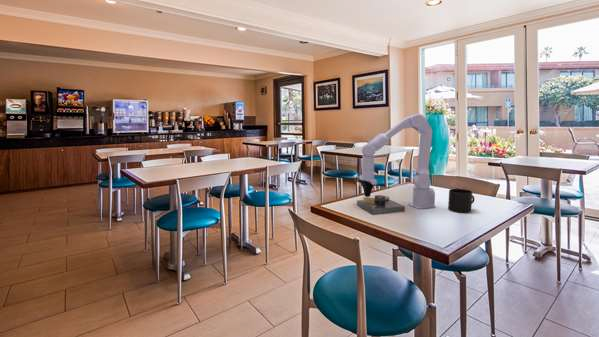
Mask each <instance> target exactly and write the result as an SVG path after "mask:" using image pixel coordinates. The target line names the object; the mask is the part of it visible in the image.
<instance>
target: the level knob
mask: <svg viewBox="0 0 599 337" xmlns="http://www.w3.org/2000/svg"><path fill="white" fill-rule="evenodd" d="M362 200H363V202H375V203H376V204H385V203H386V196H385V195H380V194H377V195H374V197H365V196H363V199H362Z"/></svg>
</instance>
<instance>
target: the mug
mask: <svg viewBox="0 0 599 337" xmlns="http://www.w3.org/2000/svg"><path fill="white" fill-rule="evenodd" d="M474 202H475V196H474V195H473V191H472V190H469V189H465V188H451V189H449V190H448V210H449V211H451V212H453V213H459V214H461V213H462V214H467V213H471V212H472V204H474Z"/></svg>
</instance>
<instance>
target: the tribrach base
mask: <svg viewBox="0 0 599 337" xmlns="http://www.w3.org/2000/svg"><path fill="white" fill-rule="evenodd" d="M356 206H357V207H359V208H361V210H364V211H365V212H367V213H369V214H370V215H383V214H393V213H402V212H405V211H406V210H405V205H403V204H401V203H398V202H396V201H394V200H391V199H390V196H386V203H385V204H376V203H375V202H363V199H360V200H356Z"/></svg>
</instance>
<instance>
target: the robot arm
mask: <svg viewBox="0 0 599 337" xmlns="http://www.w3.org/2000/svg"><path fill="white" fill-rule="evenodd" d="M411 128H412V129H414V130H415V131H417V132H418V134H420V136H419V143H418V144H419V146H418V153H417V154H418V156H417V167H416V169H415V173H414V175H413V177H412V182H413V183H414V186H412V203H408V206H411V207H413V208H416V209H418V210H420V209H423V210H424V209H430V208H436V206H435V200H436V192H435V190H434V188H432V187H431V184H432V180H431V178H430V175H431V174H430V170H429V167H430V158H431V147H432V139H433V129H432V127H431V125H430V124H429V122H428V119H427V118H426V117H425V116H424V115H423V114H421V113H411V114H410V115H409V116H406V117H404V118H403V119H402V120H400V121H399V122H398V123H396V124H395V125H393V127H391V128H390V129H389V130H387V132H385V133H382V132H381V133H377V134H376V135H375V137H374V138H372V139H371V140H368V141H367V143H366V144H364V145H363V146H362V147H361V153H362V160H361V175H359V176H358V178H359V180H360V185H361V186H362V189H363V193H364V194H363V195H364V197H365V198H371V194H372V190H373V188H374V186H375V185H378V180H376V178H375V154H376V151H377V152H378V151H379V150H381V149H383V147H385V146H386V145H387V144H389V140H390V139H391V138H393V137H394V136H395V135H397V134H398V133H399V132H401V131H402V130H405V129H411Z"/></svg>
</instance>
